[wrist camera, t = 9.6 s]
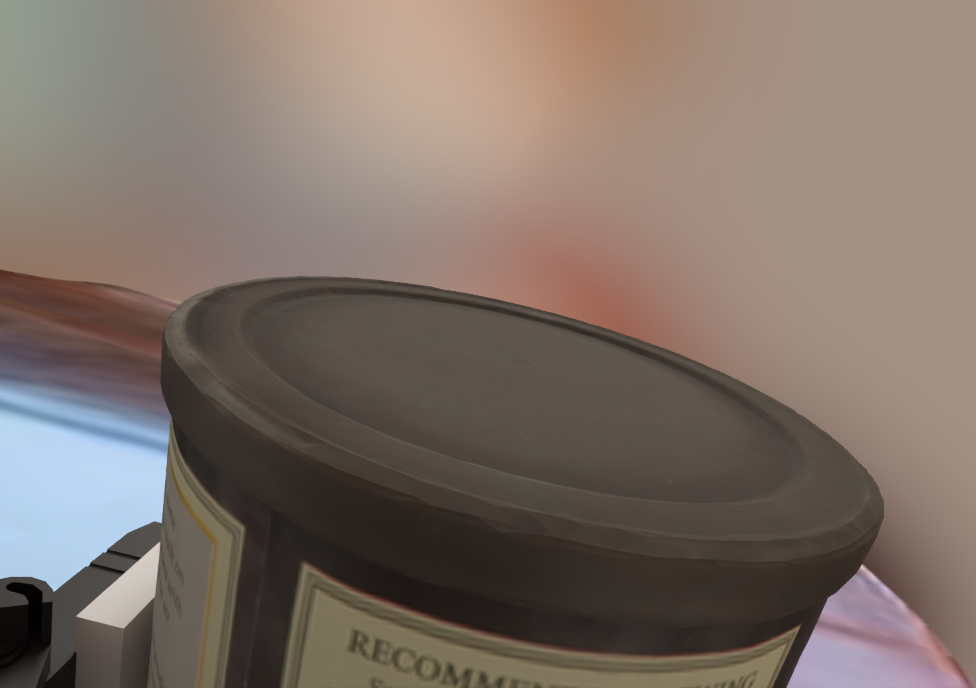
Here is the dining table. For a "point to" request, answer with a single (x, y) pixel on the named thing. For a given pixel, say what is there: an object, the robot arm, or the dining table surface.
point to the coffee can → (480, 501)
